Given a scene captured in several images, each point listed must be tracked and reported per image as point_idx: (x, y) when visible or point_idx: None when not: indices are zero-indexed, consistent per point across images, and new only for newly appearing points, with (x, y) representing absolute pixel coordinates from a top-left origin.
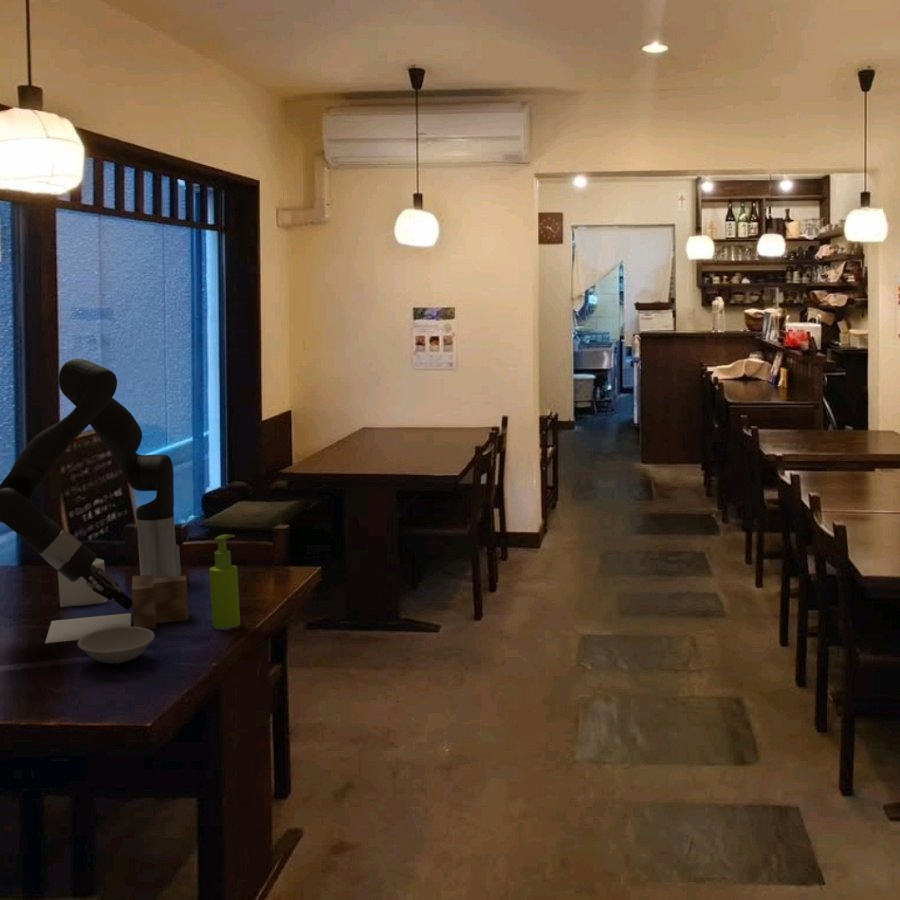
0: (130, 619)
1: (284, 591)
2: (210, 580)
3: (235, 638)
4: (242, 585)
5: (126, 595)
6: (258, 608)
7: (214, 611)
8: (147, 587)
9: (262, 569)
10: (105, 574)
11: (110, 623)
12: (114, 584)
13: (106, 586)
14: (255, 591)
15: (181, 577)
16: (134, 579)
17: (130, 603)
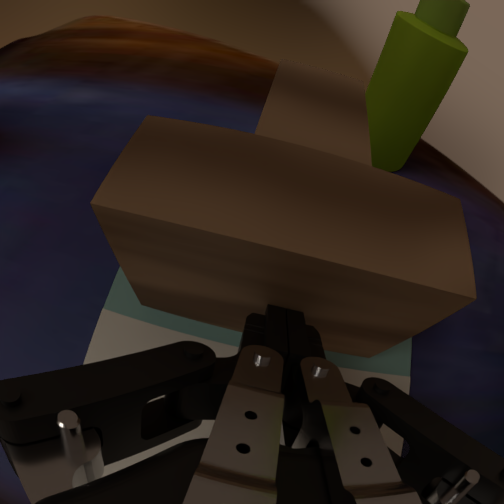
0: (199, 339)
1: (168, 35)
2: (438, 72)
3: (457, 173)
4: (68, 64)
5: (276, 328)
6: (257, 73)
7: (413, 139)
8: (456, 220)
9: (22, 49)
10: (270, 470)
11: (213, 424)
12: (255, 384)
13: (480, 451)
14: (126, 55)
15: (308, 73)
16: (200, 215)
17: (313, 328)
